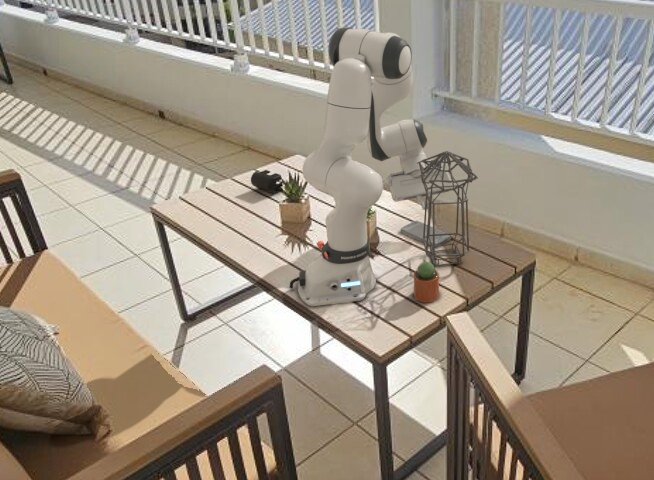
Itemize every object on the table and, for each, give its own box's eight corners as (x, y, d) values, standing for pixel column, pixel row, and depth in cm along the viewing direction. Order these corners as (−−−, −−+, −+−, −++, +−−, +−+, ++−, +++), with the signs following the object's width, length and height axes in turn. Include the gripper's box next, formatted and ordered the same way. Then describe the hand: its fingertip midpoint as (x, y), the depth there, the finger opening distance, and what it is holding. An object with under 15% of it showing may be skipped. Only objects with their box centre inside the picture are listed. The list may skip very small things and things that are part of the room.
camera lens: (252, 190, 235) (249, 174, 232) (266, 183, 240) (263, 167, 236) (270, 196, 230) (267, 180, 227) (284, 190, 235) (281, 173, 231)
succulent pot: (419, 304, 171) (418, 272, 165) (410, 291, 176) (409, 259, 171) (442, 299, 173) (442, 266, 167) (433, 286, 178) (433, 254, 173)
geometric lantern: (418, 247, 197) (415, 143, 179) (466, 243, 198) (469, 140, 180) (424, 273, 184) (422, 164, 166) (476, 269, 185) (480, 161, 167)
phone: (435, 248, 196) (435, 244, 196) (399, 232, 206) (399, 228, 205) (452, 238, 201) (452, 235, 201) (416, 223, 211) (416, 219, 210)
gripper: (387, 170, 195) (399, 211, 192) (447, 160, 201) (459, 199, 198) (383, 178, 201) (394, 217, 198) (441, 167, 207) (453, 206, 204)
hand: (427, 208), depth 198 cm, fingers closed
